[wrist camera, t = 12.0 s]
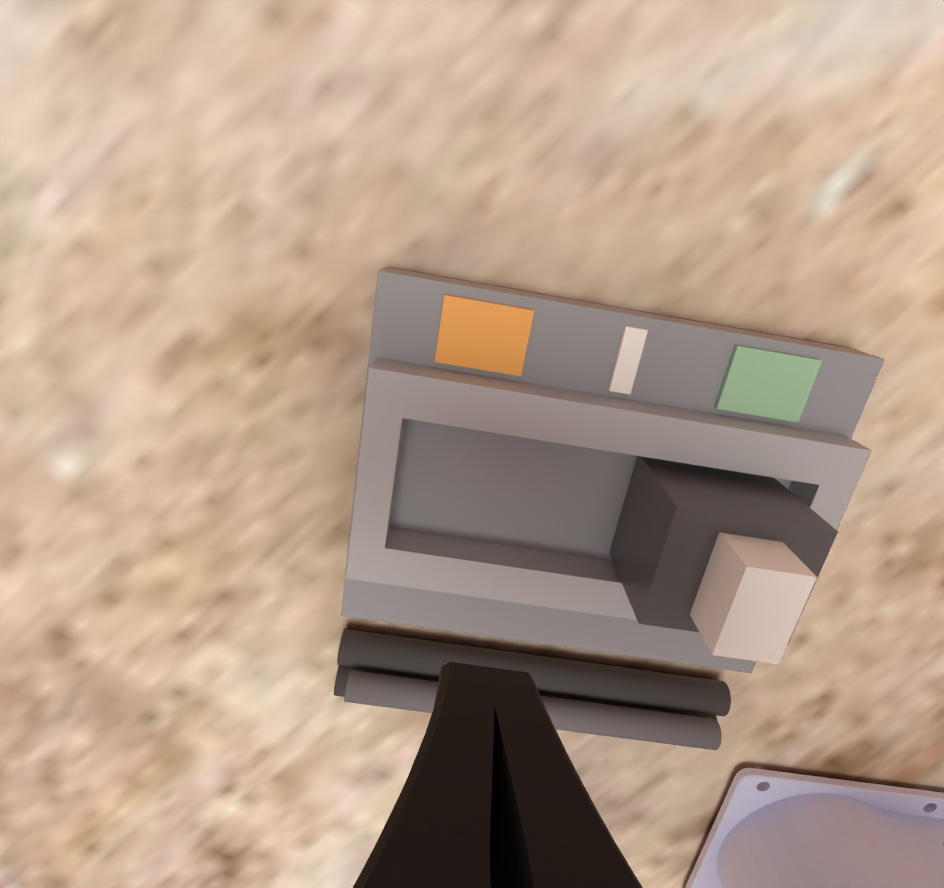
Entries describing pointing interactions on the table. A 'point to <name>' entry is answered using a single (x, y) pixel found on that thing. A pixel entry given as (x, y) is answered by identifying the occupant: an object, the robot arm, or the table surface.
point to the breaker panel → (566, 453)
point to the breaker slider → (718, 555)
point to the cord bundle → (540, 688)
